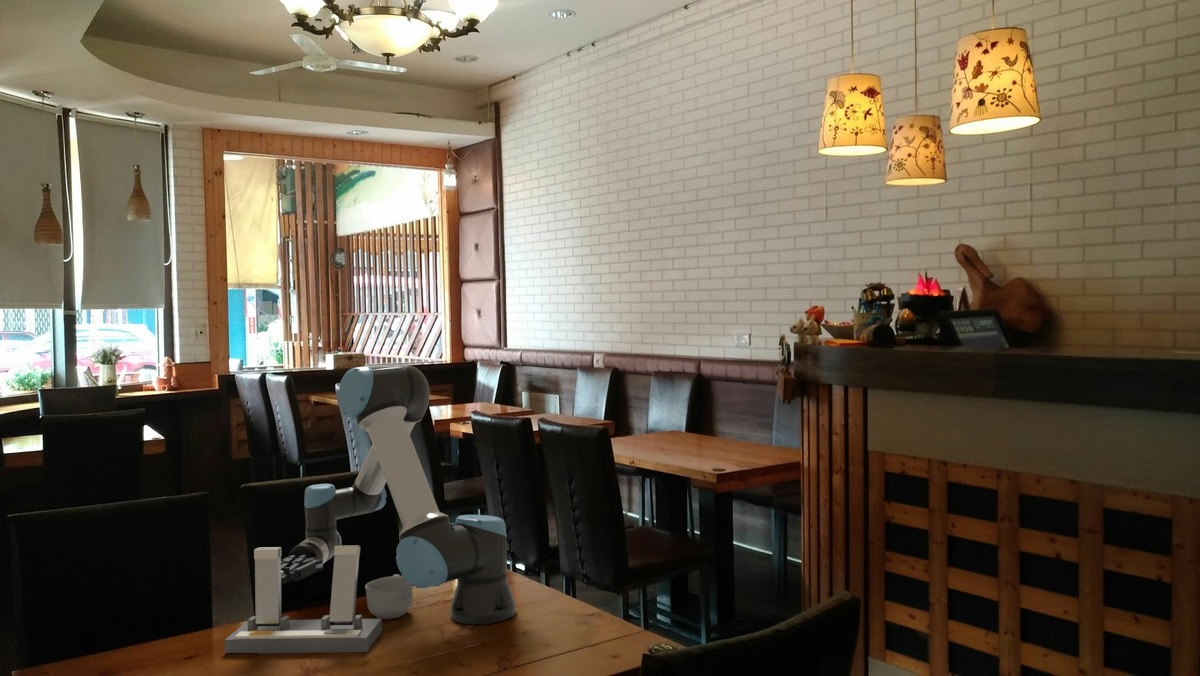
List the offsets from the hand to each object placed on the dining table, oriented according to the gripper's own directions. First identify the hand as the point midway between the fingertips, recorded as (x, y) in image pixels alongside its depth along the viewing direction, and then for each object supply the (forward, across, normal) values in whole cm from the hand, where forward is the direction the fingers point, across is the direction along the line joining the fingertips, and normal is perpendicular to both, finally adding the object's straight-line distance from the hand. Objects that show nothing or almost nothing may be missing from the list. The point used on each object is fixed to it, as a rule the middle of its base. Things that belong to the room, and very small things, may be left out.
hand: (268, 585), depth 194 cm
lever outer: (+1, 0, -8) cm, 8 cm away
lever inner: (+1, -16, -8) cm, 18 cm away
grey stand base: (+1, -8, -12) cm, 15 cm away
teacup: (-18, -22, -12) cm, 31 cm away
